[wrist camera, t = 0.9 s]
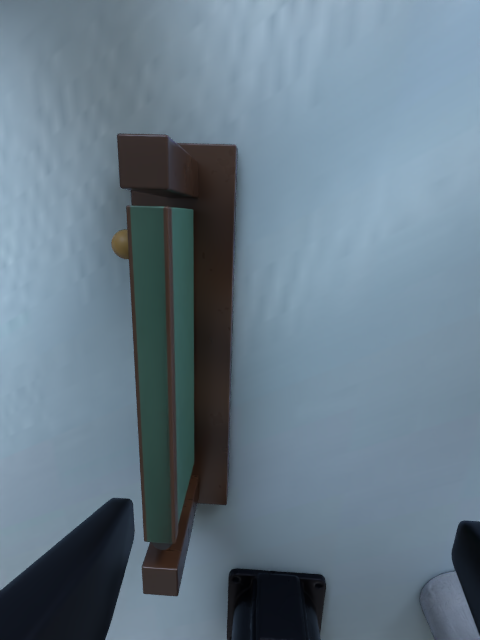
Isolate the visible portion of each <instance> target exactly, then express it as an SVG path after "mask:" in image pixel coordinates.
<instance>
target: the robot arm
mask: <svg viewBox="0 0 480 640" xmlns="http://www.w3.org/2000/svg"><path fill="white" fill-rule="evenodd" d="M134 531H135V529H134V513H133V503H132V500H130V499H126V498H112V499H110V500H109V501H108V502H106V503H105V504H104V505H103V506H102V507H100V508H99V509H98V510H97V511H96V512H94V513H93V514H92V515H91V516H90V517H88V518H87V519H86V520H85V521H83V522H82V523H81V524H80V525H79V526H77V527H76V528H75V529H74V530H73V531H71V532H70V533H69V534H68V535H67V536H65V537H64V538H63V539H62V540H61V541H59V542H58V543H57V544H56V545H55V546H53V547H52V548H51V549H50V550H49V551H47V552H46V553H45V554H44V555H43V556H41V557H40V558H39V559H38V560H37V561H35V562H34V563H33V564H32V565H31V566H29V567H28V568H27V569H26V570H25V571H23V572H22V573H21V574H20V575H19V576H17V577H16V578H15V579H14V580H13V581H11V582H10V583H9V584H8V585H7V586H5V587H4V588H3V589H2V590H1V591H0V640H105V638H106V635H107V633H108V630H109V627H110V623H111V620H112V616H113V613H114V609H115V606H116V602H117V599H118V595H119V591H120V588H121V584H122V580H123V577H124V573H125V570H126V566H127V562H128V559H129V555H130V551H131V548H132V544H133V540H134ZM452 561H453V565H454V568H455V571H456V574H457V576H458V579H459V582H460V584H461V587H462V590H463V593H464V595H465V598H466V601H467V603H468V606H469V609H470V611H471V614H472V617H473V620H474V622H475V625H476V628H477V630H478V633H479V636H480V522H479V521H461V522H460V523H459V525H458V528H457V532H456V536H455V540H454V544H453V548H452ZM325 590H326V583H325V578H324V577H323V576H322V575H318V574H304V573H290V572H276V571H263V570H249V569H232V570H231V571H230V573H229V587H228V619H227V640H320V628H321V620H322V613H323V605H324V598H325Z"/></svg>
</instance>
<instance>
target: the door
mask: <svg viewBox="0 0 480 640" xmlns="http://www.w3.org/2000/svg"><path fill="white" fill-rule="evenodd" d="M126 212H127V230H120V231H118V232H117V233H116V234H115V235H114V236H113V238H112V242H111V245H112V249H113V251H114V253H115V254H116V255H117V256H119V257H120V258H123V259H129V268H130V287H131V305H132V324H133V343H134V361H135V380H136V398H137V417H138V436H139V454H140V473H141V491H142V510H143V529H144V541H145V542H152V544H153V546H154V547H155V548H157V549H160V550H166V549H168V548H169V547H170V546H171V545H172V543H176V539H177V535H178V523H179V519H180V515H181V512H182V508H183V504H184V500H185V496H186V492H187V489H188V485H189V481H190V477H191V473H192V469H193V466H194V237H193V209H184V208H174V207H163V206H132V205H128V206H126Z"/></svg>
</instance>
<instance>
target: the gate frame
mask: <svg viewBox="0 0 480 640" xmlns="http://www.w3.org/2000/svg"><path fill="white" fill-rule="evenodd" d="M117 142H118V160H119V177H120V187H121V188H122V189H127V190H131V201H132V206H163V207H174V208H184V209H193V237H194V466H193V469H192V473H191V477H190V481H189V485H188V489H187V492H186V496H185V500H184V504H183V508H182V512H181V515H180V519H179V523H178V535H177V539H176V543H172V545H171V546H170V547H169V548H168V549H166V550H160V549H157V548H155V547H154V546H153V544H152V542H150V544H149V547H148V550H147V553H146V556H145V559H144V562H143V565H142V579H143V593H144V594H153V595H167V596H178V593H179V588H180V584H181V579H182V574H183V569H184V565H185V560H186V555H187V551H188V546H189V541H190V537H191V532H192V527H193V522H194V518H195V513H196V508H197V504H198V503H201V504H217V505H226V504H227V497H228V471H229V435H230V399H231V363H232V326H233V290H234V254H235V218H236V182H237V147H236V145H232V144H194V143H176V142H175V141H173V140H172V139H171V138H170V137H169V136H168V135H160V134H121V133H120V134H118V135H117Z"/></svg>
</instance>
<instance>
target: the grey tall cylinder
mask: <svg viewBox="0 0 480 640" xmlns="http://www.w3.org/2000/svg"><path fill="white" fill-rule="evenodd" d="M420 603H421V606H422V609H423V612H424V615H425V617H426V620H427V622H428V624H429V627H430V629H431V632H432V634H433V636H434V639H435V640H480V636H479V633H478V630H477V628H476V625H475V622H474V620H473V617H472V614H471V611H470V609H469V606H468V603H467V601H466V598H465V595H464V593H463V590H462V587H461V584H460V582H459V579H458V576H457V574H456V572H448V573H444V574H441V575H439V576H436V577H434V578H433V579H431V580H430V581H429V582H428V583H427V584H426V585H425V586H424V588H423V589H422V591H421V595H420Z"/></svg>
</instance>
